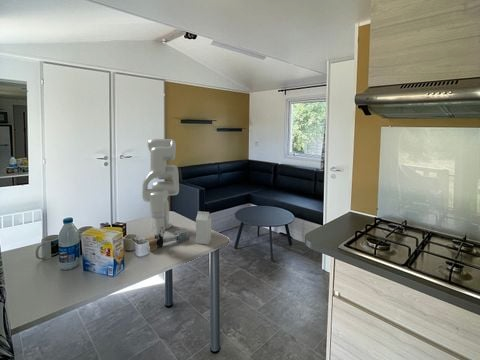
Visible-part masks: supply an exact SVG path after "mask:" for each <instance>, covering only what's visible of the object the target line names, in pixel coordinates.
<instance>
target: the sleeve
mask: <svg viewBox="0 0 480 360" xmlns="http://www.w3.org/2000/svg"><path fill="white" fill-rule="evenodd" d="M176 234H177V235H178V240H174V242H176V243H178V244H182V243H185V242H189V241H190V231H189V230H187V229H186V228H184V229H183V228H182V229H178V230H175V231H174V235H176Z"/></svg>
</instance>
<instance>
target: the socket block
mask: <svg viewBox="0 0 480 360" xmlns="http://www.w3.org/2000/svg"><path fill="white" fill-rule="evenodd" d="M154 237H155V236H154V235H151V236H150V235H149V236H146V237H144V238H145V241H146V240H148V241H149V246H150V251H149V252H153V251H154V252H155V251H157V250H158V247H157V240H156V239H155V238H154Z"/></svg>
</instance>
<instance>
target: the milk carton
mask: <svg viewBox="0 0 480 360" xmlns="http://www.w3.org/2000/svg"><path fill="white" fill-rule="evenodd" d="M211 240H212V216H211V215H210V211H200V210H199V211H197V215H196V218H195V243H196V244H198V245H199V244H201V245H208V244H209V243H210V242H211Z"/></svg>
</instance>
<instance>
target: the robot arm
mask: <svg viewBox="0 0 480 360" xmlns="http://www.w3.org/2000/svg"><path fill="white" fill-rule="evenodd" d="M147 148H148V151H149V153H150V160H149V161H150V167H149V168H150V170H149V171H150V172H149V173H148V174H147V175H146V177H145V178H144V180H143V181H142V182H143V183H142V190H141V191H142V193H141V196H142V199H143V201H144V202H146V203H149V207H150V231H151V232H152V234H153V237H154V238H155V239H156V237H155V234H156V235H158V239H157V245H158V246H160V245H162V246H163V245H164V243H163V238H164V237H165V232H166V230H168V229H170V228H171V227H172V226H173V224H172V223H171V222H170V204H169V203H170V202H169V200H168V198H169V196H177V195H178V194H179V192H180V182H179V177H180V176H179V175H180V174H179V169H178V166H176V165H174V164H171V165H170V164H168V163H167V161H174V160H175V158H176V148H177V144H176V141H175V140H174V139H171V138H153V139H149V140H148V141H147ZM154 179H156V180H163V181H155V182H153V184H152V185H151V188H149V183H150V182H151V181H152V180H154ZM166 180H167V181H166ZM168 180H169V181H168ZM170 180H171V181H170ZM159 233H160V234H159ZM159 235H161V236H159Z"/></svg>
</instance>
